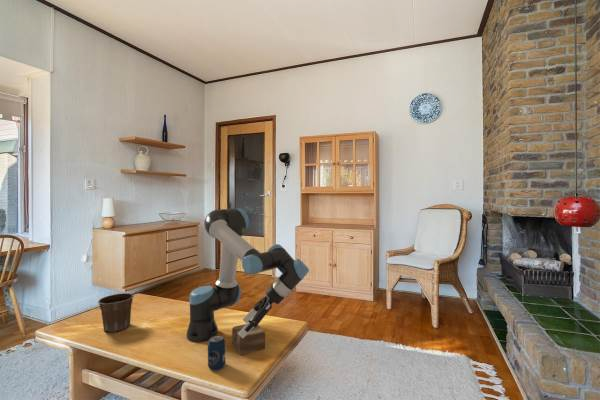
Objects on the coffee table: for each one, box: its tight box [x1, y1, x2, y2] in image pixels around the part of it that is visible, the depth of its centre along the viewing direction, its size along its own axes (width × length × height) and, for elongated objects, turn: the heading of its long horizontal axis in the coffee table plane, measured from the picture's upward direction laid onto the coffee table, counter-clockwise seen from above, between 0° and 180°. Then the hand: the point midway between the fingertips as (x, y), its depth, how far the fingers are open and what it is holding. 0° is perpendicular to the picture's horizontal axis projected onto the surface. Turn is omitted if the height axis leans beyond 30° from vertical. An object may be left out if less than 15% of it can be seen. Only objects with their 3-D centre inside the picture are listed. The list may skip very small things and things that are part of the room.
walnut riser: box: [231, 322, 266, 356], centre depth 140 cm, size 12×12×8 cm
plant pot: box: [97, 292, 134, 333], centre depth 160 cm, size 16×16×16 cm
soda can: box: [207, 334, 226, 372], centre depth 123 cm, size 7×7×12 cm
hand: (242, 328), depth 124 cm, fingers open, 13 cm apart
